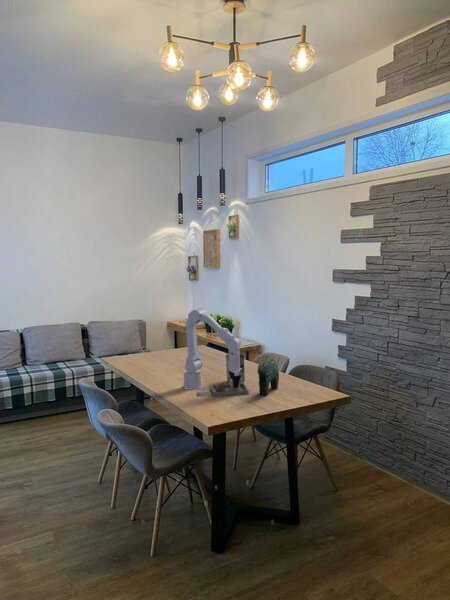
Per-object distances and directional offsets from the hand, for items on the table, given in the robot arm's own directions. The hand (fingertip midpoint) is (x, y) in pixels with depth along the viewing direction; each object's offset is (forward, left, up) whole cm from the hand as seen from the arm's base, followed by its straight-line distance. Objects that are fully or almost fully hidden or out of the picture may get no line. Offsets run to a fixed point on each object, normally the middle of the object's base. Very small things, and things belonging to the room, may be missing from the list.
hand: (235, 385), depth 235 cm
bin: (-3, 0, -3) cm, 4 cm away
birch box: (0, 0, -3) cm, 3 cm away
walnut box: (-8, -3, -3) cm, 9 cm away
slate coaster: (-17, -3, -3) cm, 18 cm away
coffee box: (+3, +19, -3) cm, 20 cm away
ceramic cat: (+17, -5, -3) cm, 18 cm away
